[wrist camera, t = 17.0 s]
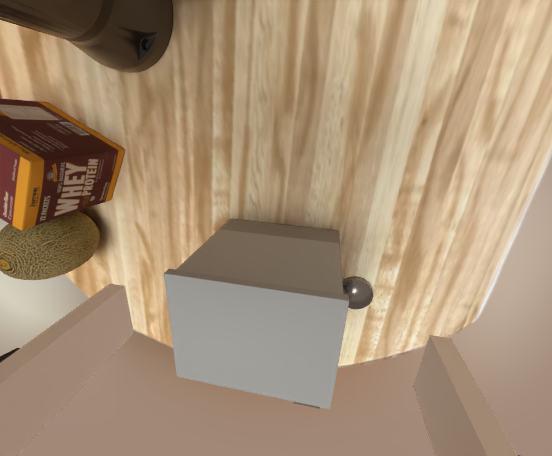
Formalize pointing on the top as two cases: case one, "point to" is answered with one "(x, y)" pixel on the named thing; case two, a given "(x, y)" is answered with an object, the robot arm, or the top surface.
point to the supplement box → (51, 164)
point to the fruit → (48, 247)
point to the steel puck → (357, 292)
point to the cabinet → (261, 311)
